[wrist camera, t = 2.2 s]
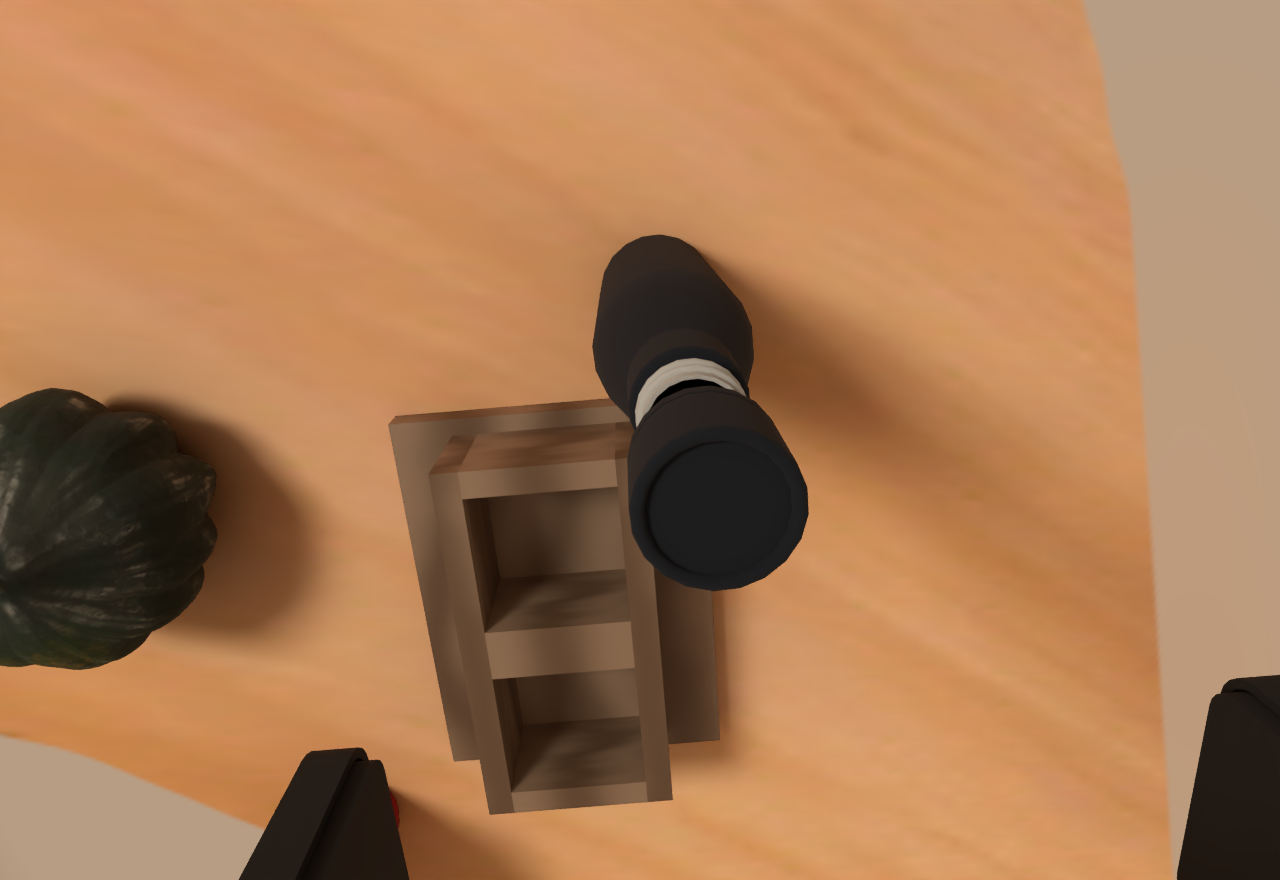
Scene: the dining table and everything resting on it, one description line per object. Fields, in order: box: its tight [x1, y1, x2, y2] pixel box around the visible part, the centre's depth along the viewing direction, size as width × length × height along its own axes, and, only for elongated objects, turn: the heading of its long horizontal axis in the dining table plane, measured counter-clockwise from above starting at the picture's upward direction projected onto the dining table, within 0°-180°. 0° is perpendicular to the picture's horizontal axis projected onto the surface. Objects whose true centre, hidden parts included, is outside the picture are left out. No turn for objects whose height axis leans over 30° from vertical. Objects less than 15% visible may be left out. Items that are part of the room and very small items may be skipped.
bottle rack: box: [389, 399, 720, 815], centre depth 48 cm, size 18×24×8 cm
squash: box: [0, 388, 217, 670], centre depth 43 cm, size 14×15×15 cm
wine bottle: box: [592, 235, 809, 591], centre depth 31 cm, size 6×6×30 cm
